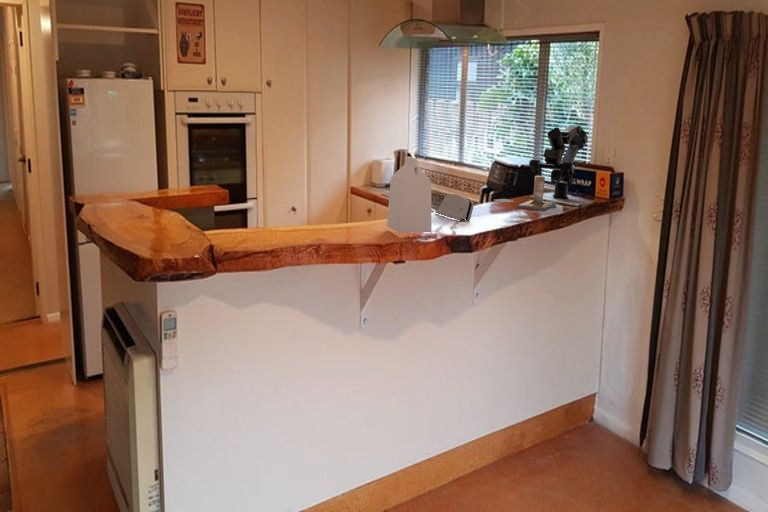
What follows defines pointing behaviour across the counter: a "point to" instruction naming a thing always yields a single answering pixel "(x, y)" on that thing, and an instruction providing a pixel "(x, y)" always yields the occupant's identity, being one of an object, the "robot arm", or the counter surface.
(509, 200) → the pad
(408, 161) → the milk
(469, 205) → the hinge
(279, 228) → the counter surface
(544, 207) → the rack plate
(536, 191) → the peg
